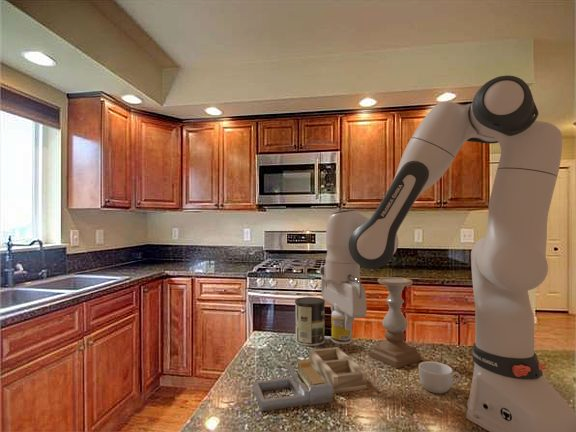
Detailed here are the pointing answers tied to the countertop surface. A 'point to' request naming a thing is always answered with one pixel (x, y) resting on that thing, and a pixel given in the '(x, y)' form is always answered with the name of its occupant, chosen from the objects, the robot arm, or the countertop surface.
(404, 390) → the countertop surface
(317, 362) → the box
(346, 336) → the supplement bottle
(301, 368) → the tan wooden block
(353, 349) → the countertop surface
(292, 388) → the socket block
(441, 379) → the teacup
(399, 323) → the candle holder
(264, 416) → the countertop surface
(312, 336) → the coffee can
